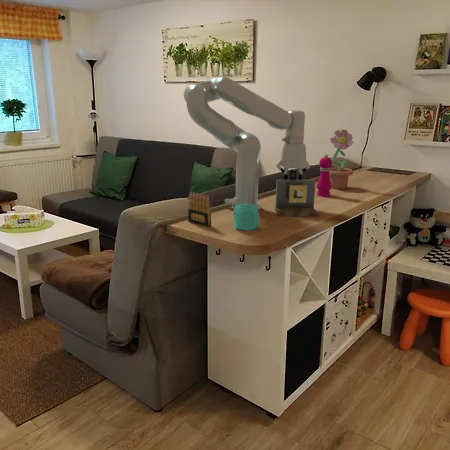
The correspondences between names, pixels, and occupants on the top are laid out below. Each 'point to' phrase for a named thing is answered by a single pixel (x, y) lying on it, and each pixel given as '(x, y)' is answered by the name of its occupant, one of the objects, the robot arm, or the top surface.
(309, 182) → the grey rectangular panel
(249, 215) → the decorative dice
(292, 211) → the base board
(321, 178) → the pepper mill
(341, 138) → the decorative flower
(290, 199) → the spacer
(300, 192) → the shaft
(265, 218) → the top surface
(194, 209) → the ammunition clip
